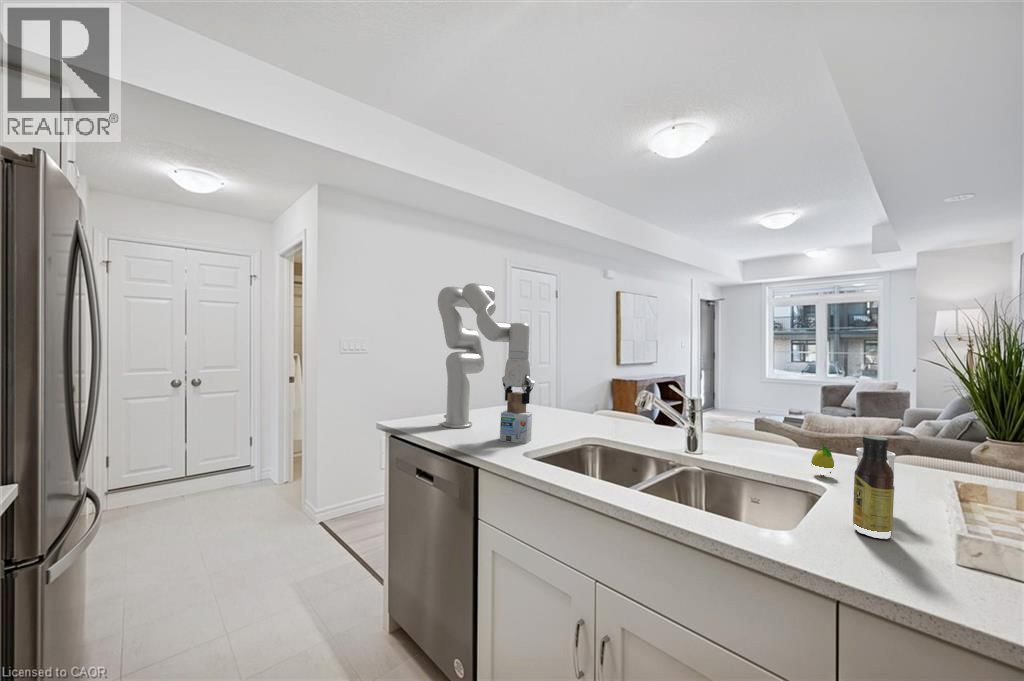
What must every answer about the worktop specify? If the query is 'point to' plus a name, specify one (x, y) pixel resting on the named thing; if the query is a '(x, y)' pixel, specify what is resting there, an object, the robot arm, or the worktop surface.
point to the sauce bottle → (874, 487)
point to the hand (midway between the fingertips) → (516, 402)
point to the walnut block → (515, 403)
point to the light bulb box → (516, 427)
